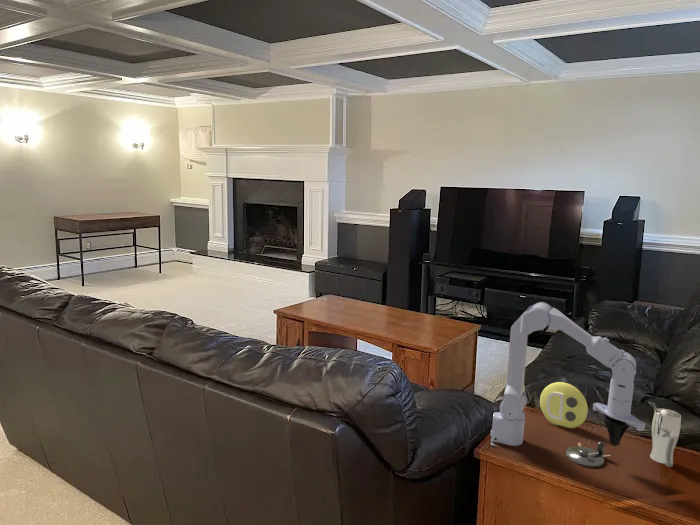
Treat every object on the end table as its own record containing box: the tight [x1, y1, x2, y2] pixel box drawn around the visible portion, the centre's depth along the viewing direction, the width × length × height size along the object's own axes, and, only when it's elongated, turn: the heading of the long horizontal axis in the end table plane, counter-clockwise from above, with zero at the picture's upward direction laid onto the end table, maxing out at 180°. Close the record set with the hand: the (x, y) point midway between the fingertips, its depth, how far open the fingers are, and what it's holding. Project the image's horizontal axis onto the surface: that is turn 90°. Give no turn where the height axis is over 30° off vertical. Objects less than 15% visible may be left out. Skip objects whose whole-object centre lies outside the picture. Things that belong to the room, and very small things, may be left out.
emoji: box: [539, 381, 589, 429], centre depth 176 cm, size 5×15×15 cm
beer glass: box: [649, 408, 682, 468], centre depth 156 cm, size 7×7×15 cm
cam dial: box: [565, 440, 605, 468], centre depth 156 cm, size 11×10×4 cm
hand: (614, 444), depth 151 cm, fingers closed
